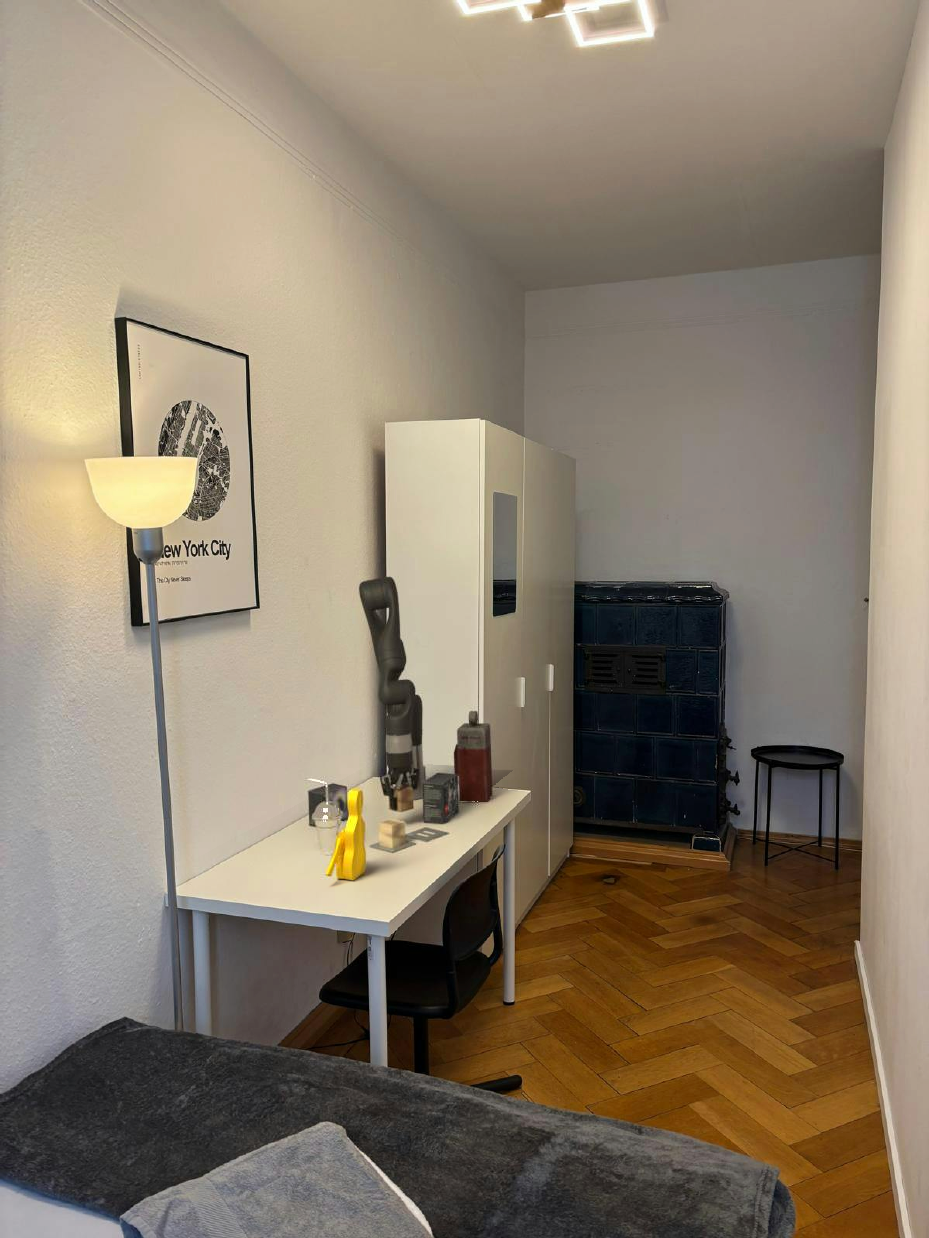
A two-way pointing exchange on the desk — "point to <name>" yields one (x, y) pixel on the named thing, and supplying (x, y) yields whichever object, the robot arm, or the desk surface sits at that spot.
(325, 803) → the cup with straw
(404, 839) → the maple block
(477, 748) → the red grey bottle
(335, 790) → the small box
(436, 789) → the small box
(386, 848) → the code tile
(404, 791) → the walnut block
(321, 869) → the desk surface
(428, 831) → the code tile
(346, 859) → the figure statuette
